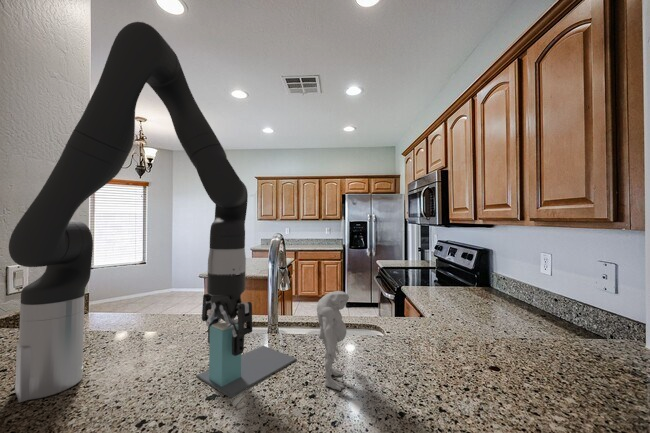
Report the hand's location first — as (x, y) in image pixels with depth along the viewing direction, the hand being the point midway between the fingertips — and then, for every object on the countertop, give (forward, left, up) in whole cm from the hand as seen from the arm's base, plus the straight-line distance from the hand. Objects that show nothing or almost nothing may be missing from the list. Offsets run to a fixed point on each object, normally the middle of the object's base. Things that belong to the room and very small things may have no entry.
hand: (225, 348), depth 57 cm
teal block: (0, 0, -6) cm, 6 cm away
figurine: (+13, -18, -7) cm, 23 cm away
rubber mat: (+6, 0, -6) cm, 9 cm away
